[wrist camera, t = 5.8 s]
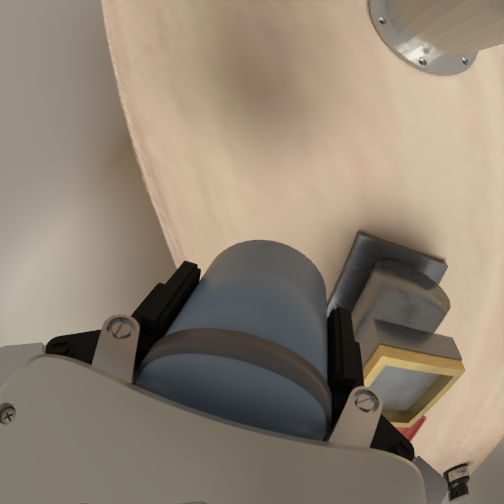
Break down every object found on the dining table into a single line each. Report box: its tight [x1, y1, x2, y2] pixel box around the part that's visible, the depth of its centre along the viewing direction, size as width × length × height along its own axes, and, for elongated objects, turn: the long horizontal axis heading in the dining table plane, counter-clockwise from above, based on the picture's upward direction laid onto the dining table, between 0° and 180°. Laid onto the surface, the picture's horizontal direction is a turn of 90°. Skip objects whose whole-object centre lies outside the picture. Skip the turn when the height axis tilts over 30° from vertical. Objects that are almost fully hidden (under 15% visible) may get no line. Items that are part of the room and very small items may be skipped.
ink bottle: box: [443, 464, 469, 502], centre depth 47 cm, size 10×9×12 cm
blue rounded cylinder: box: [135, 240, 332, 441], centre depth 10 cm, size 6×6×7 cm
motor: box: [327, 231, 465, 428], centre depth 26 cm, size 16×12×14 cm
